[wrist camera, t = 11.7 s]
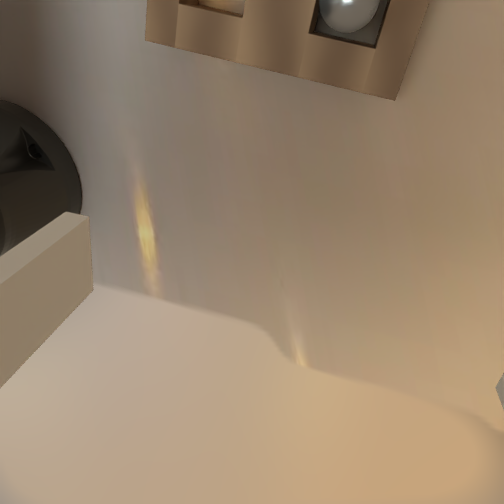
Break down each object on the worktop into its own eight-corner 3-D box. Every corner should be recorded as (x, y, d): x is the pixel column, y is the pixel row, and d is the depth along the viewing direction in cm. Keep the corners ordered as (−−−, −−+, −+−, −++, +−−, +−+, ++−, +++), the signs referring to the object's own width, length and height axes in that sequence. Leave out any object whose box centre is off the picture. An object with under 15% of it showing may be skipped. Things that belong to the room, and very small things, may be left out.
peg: (326, 22, 32) (312, 25, 23) (338, -26, 30) (328, -41, 22) (367, 31, 32) (368, 38, 23) (381, -17, 30) (388, -29, 21)
